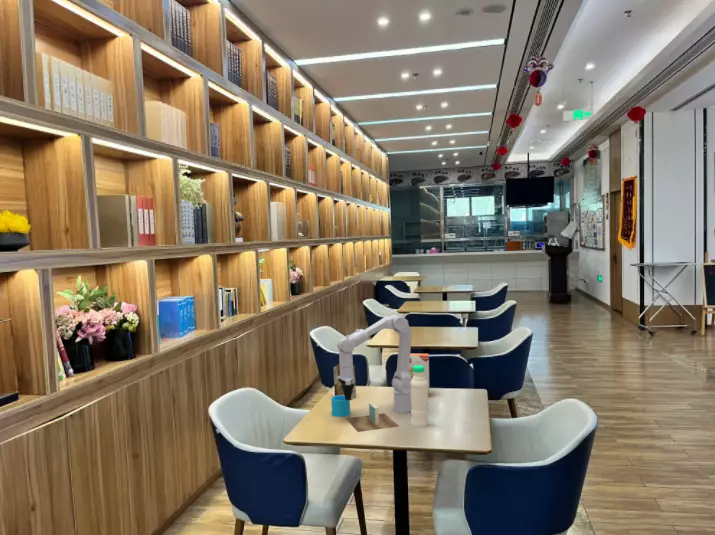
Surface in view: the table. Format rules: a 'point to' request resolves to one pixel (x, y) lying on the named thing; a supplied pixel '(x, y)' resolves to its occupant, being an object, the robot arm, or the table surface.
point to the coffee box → (337, 382)
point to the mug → (340, 406)
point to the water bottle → (419, 397)
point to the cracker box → (419, 360)
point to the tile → (373, 413)
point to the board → (371, 423)
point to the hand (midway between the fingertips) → (347, 397)
